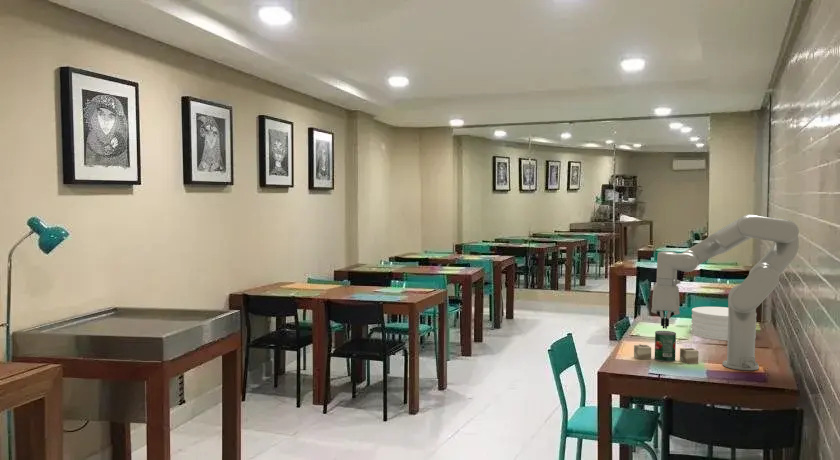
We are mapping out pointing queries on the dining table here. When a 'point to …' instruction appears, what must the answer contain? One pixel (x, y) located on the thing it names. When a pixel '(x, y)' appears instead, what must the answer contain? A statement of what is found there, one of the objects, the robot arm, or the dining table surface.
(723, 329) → the plate stack
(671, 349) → the canned tomato
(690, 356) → the marked block one
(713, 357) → the dining table surface
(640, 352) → the marked block two
